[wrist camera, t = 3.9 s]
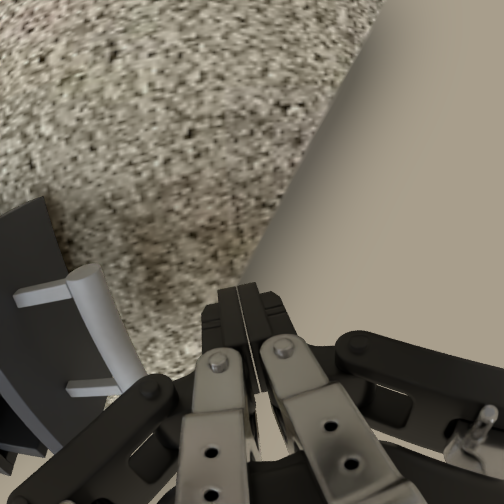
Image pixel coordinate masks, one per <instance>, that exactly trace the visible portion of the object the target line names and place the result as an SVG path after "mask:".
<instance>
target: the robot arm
mask: <svg viewBox="0 0 504 504" xmlns="http://www.w3.org/2000/svg"><path fill="white" fill-rule="evenodd" d="M237 287H238V292H239V297H240V301H241V306H242V310H243V315H244V319H245V324H246V329H247V333H248V337H249V341H250V346H251V350H252V354H253V358H254V363H255V367H256V371H257V375H258V379H259V383H260V387H261V392H267V391H268V394H269V398H270V402H271V407H272V411H273V414H274V416H275V419H276V421H277V424H278V427H279V429H280V432H281V434H282V437H283V440H284V442H285V445H286V447H287V450H288V452H289V456H287V457H285V458H282V459H280V460H277V461H262V457H261V449H260V441H259V432H258V423H257V414H256V410H255V408H256V402H255V397H254V394H258V393H260V392H259V388H258V384H257V379H256V375H255V371H254V367H253V362H252V358H251V353H250V349H249V345H248V340H247V336H246V331H245V327H244V322H243V318H242V313H241V309H240V304H239V300H238V295H237V291H236V286H234V287H229V288H225V289H220V290H217V292H218V302H219V303H214V304H209V305H206V307H205V308H204V310H203V312H202V313H201V322H202V355H201V356H200V357H199V359H198V360H197V362H196V368H195V370H194V371H193V372H192V373H190V374H189V375H187V376H185V377H182V378H180V379H177V380H175V381H172V380H171V379H170V378H169V377H168V376H166V375H163V374H150V375H146V376H144V377H142V378H140V379H139V380H137V381H136V382H135V383H134V384H133V385H132V386H131V387H129V388H128V389H127V390H126V391H125V392H124V393H123V394H122V395H121V396H120V397H119V398H117V399H116V400H115V401H114V402H113V403H112V404H111V405H110V406H109V407H108V408H106V409H105V410H104V411H103V412H102V413H101V414H100V415H99V416H98V417H96V418H95V419H94V420H93V421H92V422H91V423H90V424H89V425H88V426H86V427H85V428H84V429H83V430H82V431H81V432H80V433H79V434H77V435H76V436H75V437H74V438H73V439H72V440H71V441H70V442H69V443H67V444H66V445H65V446H64V447H63V448H62V449H61V450H59V451H58V452H57V453H56V454H55V455H54V456H53V457H52V458H50V459H49V460H48V461H47V462H46V463H45V464H44V465H42V466H41V467H40V468H39V469H38V470H37V471H36V472H34V473H33V474H32V475H31V476H30V477H29V478H28V479H26V480H25V481H24V482H23V483H22V484H21V485H19V486H18V487H17V488H16V489H15V490H14V491H13V492H12V493H11V494H10V496H9V497H8V500H7V504H148V503H149V502H150V501H151V500H152V499H153V498H154V497H155V496H156V494H157V493H158V492H159V491H160V490H161V489H162V488H163V487H164V486H165V485H166V484H167V482H168V481H169V480H170V479H171V478H172V477H173V476H174V474H175V473H176V472H177V479H176V486H175V487H173V488H172V489H170V490H169V491H168V492H167V493H166V494H165V495H164V496H163V497H162V498H161V499H160V500H159V501H158V503H157V504H504V369H503V368H499V367H495V366H491V365H487V364H483V363H479V362H475V361H471V360H467V359H463V358H460V357H456V356H452V355H448V354H445V353H441V352H437V351H434V350H430V349H426V348H423V347H419V346H415V345H412V344H409V343H405V342H402V341H398V340H395V339H391V338H388V337H384V336H381V335H378V334H375V333H371V332H368V331H362V330H357V331H351V332H347V333H345V334H343V335H342V336H340V337H339V338H338V340H337V341H336V343H335V346H313V345H309V344H307V343H306V342H305V340H304V339H303V338H301V337H299V336H298V335H297V333H296V331H295V329H294V327H293V324H292V322H291V320H290V318H289V316H288V314H287V312H286V309H285V307H284V305H283V303H282V300H281V298H280V297H279V296H278V295H276V294H275V293H273V292H272V291H270V292H266V293H261V294H259V291H258V288H257V285H256V283H255V282H253V283H248V284H244V285H239V286H237ZM376 384H378V385H381V386H384V387H387V388H389V389H392V390H395V391H398V392H401V393H405V394H406V395H404V394H400V393H398V392H395V391H392V390H389V389H386V388H384V387H381V386H378V385H376ZM407 395H408V396H407ZM371 428H372V429H374V430H377V431H380V432H382V433H385V434H387V435H390V436H393V437H396V438H398V439H401V440H404V441H406V442H409V443H412V444H415V445H418V446H421V447H424V448H427V449H430V450H433V451H436V452H439V453H442V454H443V455H444V459H445V461H446V463H445V462H442V461H439V460H436V459H433V458H430V457H428V456H425V455H422V454H420V453H417V452H415V451H412V450H410V449H407V448H405V447H402V446H400V445H397V444H394V443H391V442H387V441H381V440H378V439H377V437H376V436H375V435H374V433H373V431H372V430H371ZM152 433H153V434H152ZM151 434H152V435H151ZM150 435H151V436H150ZM149 436H150V437H149ZM148 437H149V438H148ZM147 438H148V439H147ZM146 439H147V440H146ZM145 440H146V441H145ZM144 441H145V442H144ZM143 442H144V443H143ZM142 443H143V445H142V446H141V447H140V448H139V449H138V450H137V451H136V452H135V453H134V454H133V455H132V456H131V454H132V453H133V452H134V451H135V450H136V449H137V448H138V447H139V446H140V445H141V444H142ZM130 456H131V457H130Z"/></svg>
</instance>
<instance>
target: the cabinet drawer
mask: <svg viewBox="0 0 504 504" xmlns="http://www.w3.org/2000/svg"><path fill="white" fill-rule="evenodd" d="M146 375H147V373H146V371H145V369H144V367H143V365H142V363H141V361H140V358H139V356H138V354H137V352H136V350H135V348H134V346H133V344H132V342H131V339H130V337H129V335H128V333H127V331H126V328H125V326H124V324H123V321H122V319H121V317H120V314H119V312H118V310H117V307H116V305H115V302H114V300H113V297H112V295H111V292H110V290H109V287H108V284H107V282H106V279H105V276H104V274H103V271H102V268H101V266H100V264H98V263H91V264H86V265H83V266H81V267H79V268H77V269H75V270H73V271H72V272H70V273H68V271H67V268H66V266H65V263H64V260H63V257H62V255H61V252H60V249H59V246H58V243H57V240H56V237H55V234H54V231H53V228H52V225H51V221H50V218H49V215H48V211H47V208H46V204H45V201H44V197H43V196H41V197H38V198H36V199H33V200H30V201H28V202H26V203H24V204H22V205H20V206H18V207H16V208H14V209H12V210H10V211H8V212H6V213H4V214H2V215H0V449H1V450H6V451H10V452H15V453H20V454H25V455H30V456H37V457H42V458H45V456H46V453H47V450H48V449H49V450H50V451H51V452H52V453H53V454H54V455H55V454H56V453H57V452H58V451H59V450H61V449H62V448H63V447H64V446H65V445H66V444H67V443H69V442H70V441H71V440H72V439H73V438H74V437H75V436H76V435H77V434H79V433H80V432H81V431H82V430H83V429H84V428H85V427H86V426H88V425H89V424H90V423H91V422H92V421H93V420H94V419H95V418H96V417H98V416H99V415H100V414H101V413H102V412H103V411H104V407H105V403H106V399H107V396H109V395H122V394H123V393H124V392H125V391H126V390H127V389H128V388H129V387H131V386H132V385H133V384H134V383H135V382H136V381H137V380H139V379H140V378H142V377H144V376H146ZM112 377H114V378H112Z"/></svg>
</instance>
